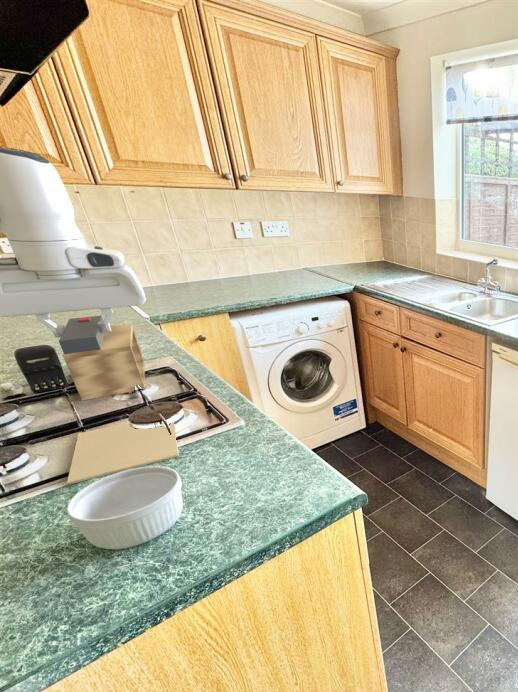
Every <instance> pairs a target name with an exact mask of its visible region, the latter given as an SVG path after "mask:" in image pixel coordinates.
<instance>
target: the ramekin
mask: <svg viewBox="0 0 518 692" xmlns="http://www.w3.org/2000/svg"><path fill="white" fill-rule="evenodd" d="M182 484H183V483H182V479H181V476H180V474H179V473H178V472H177V471H176V470H175V469H173V468H171V467H167V466H160V465H159V466H158V465H151V466H139V467H135V468H132V469H128V470H124V471H120V472H116V473H112V474H109V475H106V476H105V477H103V478H101V479H98V480H96V481H93V482H92V483H90V484H88V485H87V486H85V487H84V488H82V489H81V490H79V491H78V492H77V493H75V495H73V496H72V498H71V499H70V500H69V502H68V504H67V506H66V513H67V517H68V519H69V520H70V522H71V523H72V524H74V525H75V526H76V527H77V528H78V530H79V531H80V532H81V534H82V536H83V537H84V539H86V540H87V541H88V542H89V543H90V544H91V545H92V546H94V547H97V548H99V549H105V550H123V549H129V548H133V547H137V546H140V545H142V544H143V545H144V544H146V543H148V542H151V541H152V540H154V539H156V538H158V537H160V536H161V535H163V534H165V533H166V532H167V531H168V530H170V529H171V528H172V527H173V526H174V525H175V524H176V523H177V521H178V520H179V519H180V516H181V515H182V512H183V507H184V502H183V494H182Z"/></svg>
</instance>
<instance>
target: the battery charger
mask: <svg viewBox="0 0 518 692" xmlns="http://www.w3.org/2000/svg"><path fill="white" fill-rule="evenodd" d="M13 357H14V358H15V361H16V363H17V364H16V365H18V368H19V370H20V372H21V373H22V375H23V377H24V378H25V381H26V382H27V385H28V386H29V389H30V391H31V392H32V393H34V394H36V393H44V392H43V391H45V392H49V391H48V390H50V391H54V390H53V389H55V390H57V389H56V388H60V389H62V388H61V387H64V388H67V387H68V386H69V384H70V383H69V381H68V378H67V376H66V374H65V373H66V372H65V371H64V368H63V365H62V362H61V359H60V357H59V355H58V352H57V350H56V348H55V347H54V346H53V345H51V344H47V343H41V344H33V345H26V346H20V347H17V348H16V349H14V351H13Z"/></svg>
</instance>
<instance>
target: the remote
mask: <svg viewBox="0 0 518 692" xmlns="http://www.w3.org/2000/svg"><path fill="white" fill-rule="evenodd" d="M101 321H104V317H103V316H102V315H93V316H82V317H73V318H72V317H71V318H68V320H67V322H66V325H65V329H64V331H63V333H62V335H61V337H59V340H58V343H59V346H60V348H61V350H62V352H63V353H64V354H71V353H79V352H86V351H94V350H101V346H102V341H103V336H104V333H101V332H100V328H99V327H98V325H97V323H98V322H101ZM63 353H62V354H63Z"/></svg>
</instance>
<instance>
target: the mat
mask: <svg viewBox="0 0 518 692" xmlns="http://www.w3.org/2000/svg"><path fill="white" fill-rule="evenodd" d="M129 423H130V422H126V423H121V424H116V425H111V426H106V427H102V428H97V429H92V430H86V431H82V432H78V434H77V438H76V442H75V445H74V450H73V455H72V459H71V464H70V468H69V472H68V477H67V481H66V484H67V485H72V484H77V483H80V482H85V481H89V480H92V479H96V478H97V479H98V478H100V477H103V476H109V475H112V474H115V473H118V472H122V471H125V470H129V469H134V468H140V467H144V466H147V465H151V464H155V463H159V462H162V461H167V460H171V459H174V458H178V457H180V455H179V454H180V453H179V446H178V439H177V440H176V438H177V432H176V423H175V421H174V422H173V423H171V424H170V425H169V426H170V429H171V433H172V434H171V435H170V433H169V432H168V430H167V429H166V428H165V427H164V426H162V427H157V428H151V429H134V428H132V427H130V425H129ZM174 423H175V424H174Z"/></svg>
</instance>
